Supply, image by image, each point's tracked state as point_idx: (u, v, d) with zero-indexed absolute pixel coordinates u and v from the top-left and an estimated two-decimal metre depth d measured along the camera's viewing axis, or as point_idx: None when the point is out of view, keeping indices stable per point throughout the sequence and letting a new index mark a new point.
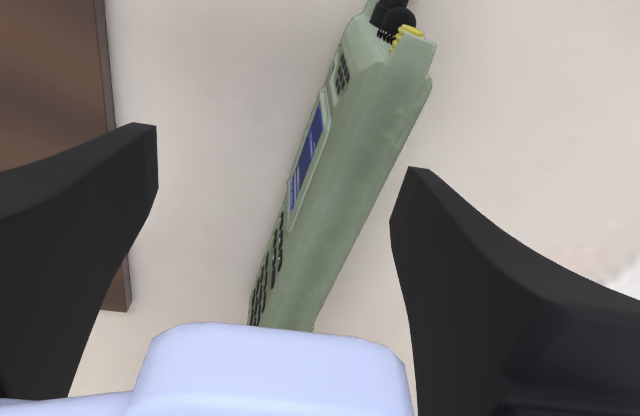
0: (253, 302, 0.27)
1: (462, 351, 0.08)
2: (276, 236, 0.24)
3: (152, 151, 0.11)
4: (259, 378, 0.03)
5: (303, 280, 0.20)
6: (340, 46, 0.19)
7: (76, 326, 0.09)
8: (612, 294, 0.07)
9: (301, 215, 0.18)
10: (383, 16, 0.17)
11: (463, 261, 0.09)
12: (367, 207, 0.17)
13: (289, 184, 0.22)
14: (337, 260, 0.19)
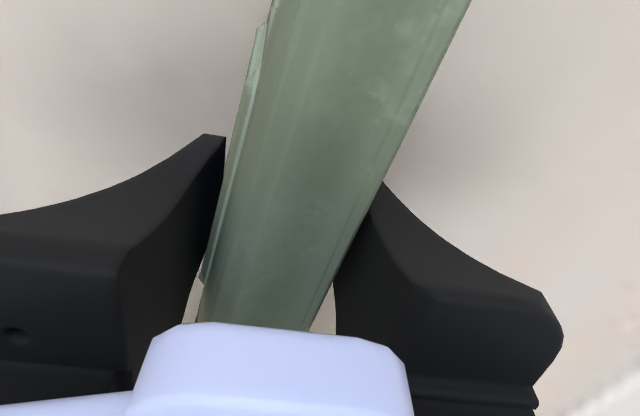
0: None
1: None
2: None
3: (222, 161, 0.12)
4: (259, 378, 0.03)
5: None
6: None
7: None
8: (501, 280, 0.07)
9: (216, 259, 0.10)
10: None
11: (369, 249, 0.08)
12: (340, 246, 0.09)
13: None
14: None
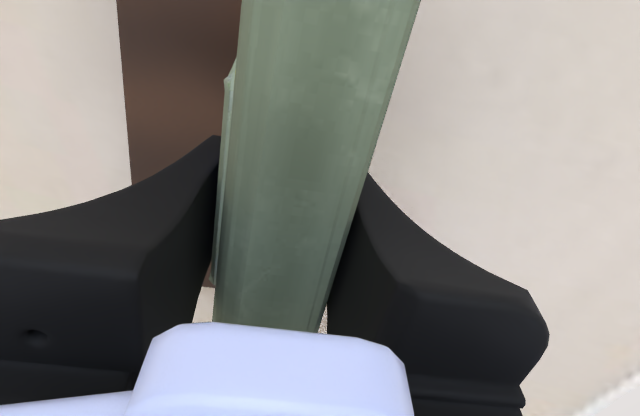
0: None
1: None
2: None
3: None
4: (259, 378, 0.03)
5: None
6: None
7: None
8: (488, 278, 0.07)
9: (219, 259, 0.10)
10: None
11: (358, 247, 0.08)
12: (336, 236, 0.09)
13: None
14: None
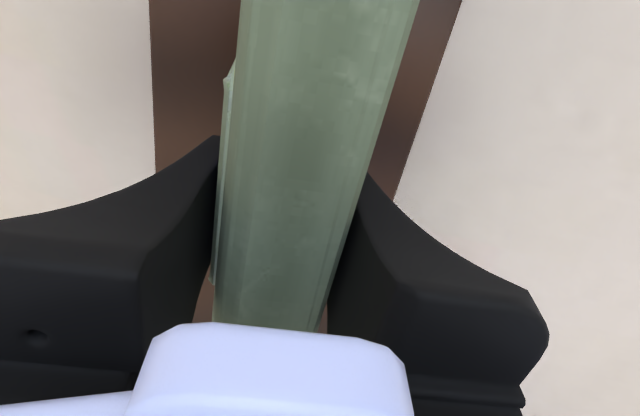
0: None
1: None
2: None
3: None
4: (259, 378, 0.03)
5: None
6: None
7: None
8: (487, 278, 0.07)
9: (218, 259, 0.10)
10: None
11: (358, 247, 0.08)
12: (335, 236, 0.09)
13: None
14: None
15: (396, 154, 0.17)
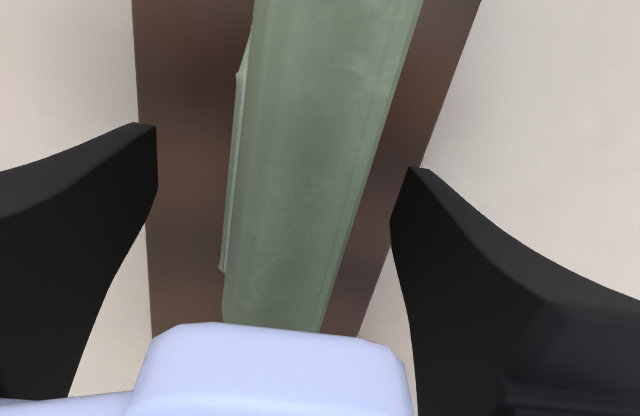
0: None
1: (462, 351, 0.08)
2: None
3: (152, 151, 0.11)
4: (259, 378, 0.03)
5: None
6: None
7: (76, 326, 0.09)
8: (612, 294, 0.07)
9: (230, 246, 0.10)
10: None
11: (463, 261, 0.09)
12: (343, 221, 0.09)
13: None
14: (307, 317, 0.11)
15: (403, 175, 0.16)
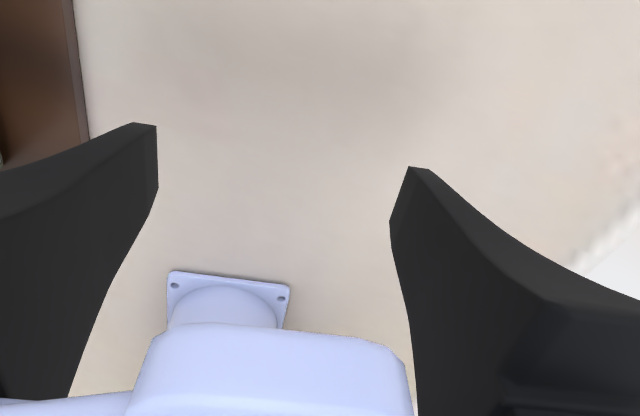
0: None
1: (462, 351, 0.08)
2: None
3: (152, 151, 0.11)
4: (259, 378, 0.03)
5: None
6: None
7: (76, 326, 0.09)
8: (612, 294, 0.07)
9: None
10: None
11: (463, 261, 0.09)
12: None
13: None
14: None
15: None
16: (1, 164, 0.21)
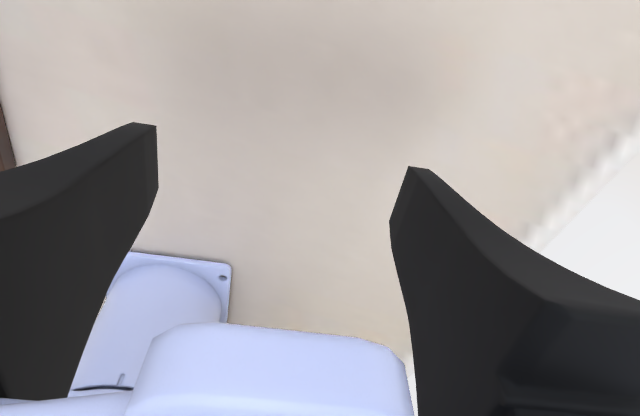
0: None
1: (462, 351, 0.08)
2: None
3: (152, 151, 0.11)
4: (259, 378, 0.03)
5: None
6: None
7: (76, 326, 0.09)
8: (612, 294, 0.07)
9: None
10: None
11: (463, 261, 0.09)
12: None
13: None
14: None
15: None
16: None
